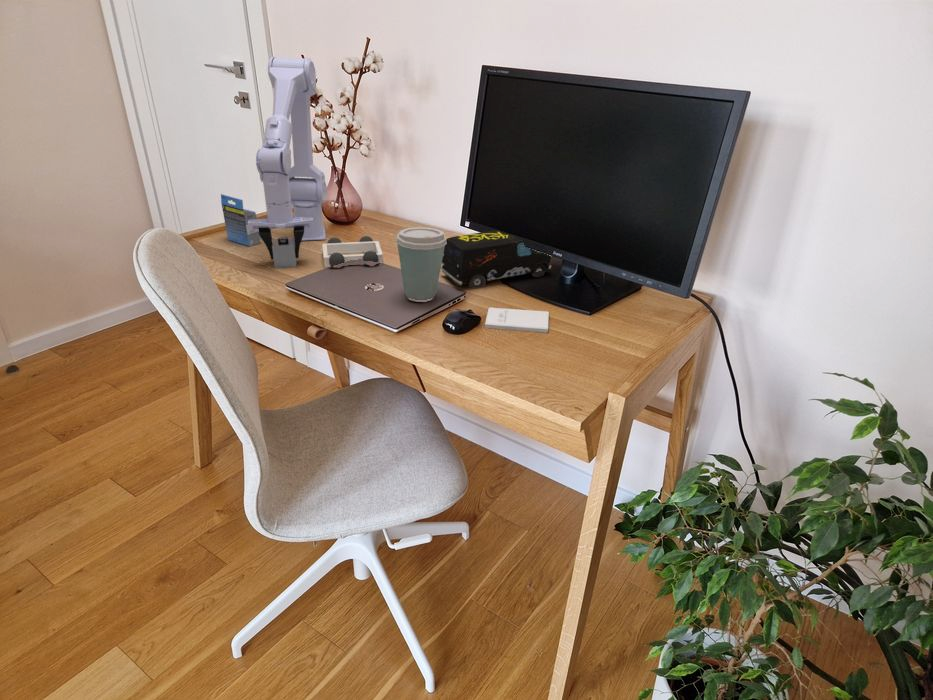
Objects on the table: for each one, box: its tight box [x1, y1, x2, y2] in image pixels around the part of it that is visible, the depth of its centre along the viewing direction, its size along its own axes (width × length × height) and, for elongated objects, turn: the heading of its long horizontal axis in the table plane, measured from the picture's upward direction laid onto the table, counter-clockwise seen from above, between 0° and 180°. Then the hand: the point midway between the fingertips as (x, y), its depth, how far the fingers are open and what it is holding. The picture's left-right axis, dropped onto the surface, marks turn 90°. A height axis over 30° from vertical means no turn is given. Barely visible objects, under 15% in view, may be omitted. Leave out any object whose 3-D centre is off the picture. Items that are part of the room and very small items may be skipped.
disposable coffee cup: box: [395, 226, 447, 300], centre depth 133 cm, size 11×11×15 cm
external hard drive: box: [484, 307, 550, 334], centre depth 127 cm, size 2×8×12 cm
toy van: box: [440, 230, 552, 289], centre depth 146 cm, size 11×25×10 cm, turn 117°
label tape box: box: [220, 193, 261, 247], centre depth 161 cm, size 9×4×12 cm, turn 56°
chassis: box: [321, 235, 384, 268], centre depth 155 cm, size 12×14×4 cm
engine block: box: [272, 236, 298, 269], centre depth 150 cm, size 5×5×6 cm
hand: (285, 257), depth 151 cm, fingers closed on engine block, 5 cm apart
